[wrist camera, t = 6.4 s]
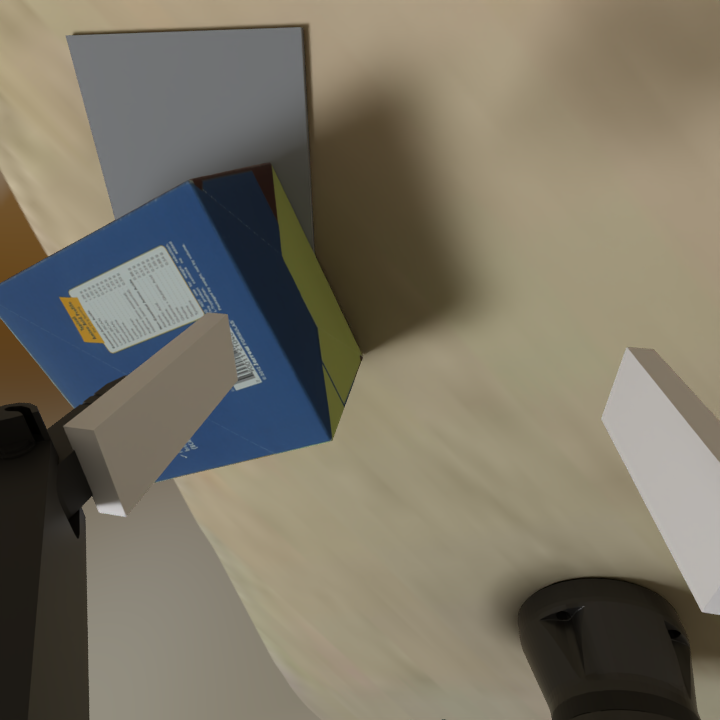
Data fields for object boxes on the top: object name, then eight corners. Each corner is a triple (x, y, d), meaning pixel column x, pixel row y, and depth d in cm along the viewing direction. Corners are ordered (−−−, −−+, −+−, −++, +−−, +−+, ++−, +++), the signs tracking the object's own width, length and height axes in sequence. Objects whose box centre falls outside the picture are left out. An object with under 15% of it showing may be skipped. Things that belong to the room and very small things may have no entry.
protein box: (366, 359, 33) (211, 406, 38) (272, 159, 27) (105, 246, 33) (334, 446, 24) (137, 492, 29) (184, 174, 18) (-28, 292, 24)
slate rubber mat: (320, 365, 35) (319, 367, 34) (153, 350, 37) (150, 352, 37) (303, 28, 24) (301, 27, 24) (70, 36, 26) (65, 35, 26)
